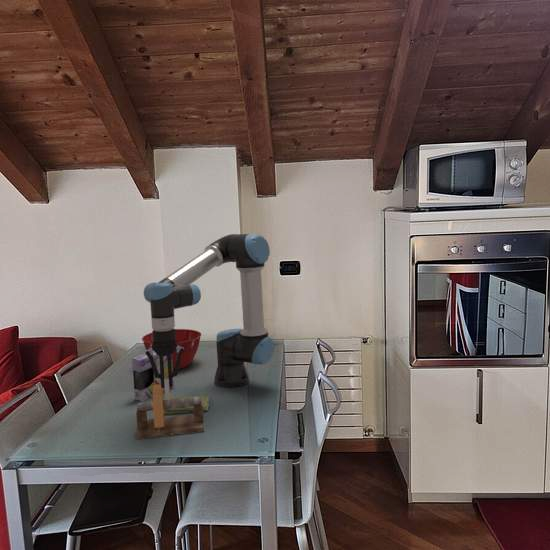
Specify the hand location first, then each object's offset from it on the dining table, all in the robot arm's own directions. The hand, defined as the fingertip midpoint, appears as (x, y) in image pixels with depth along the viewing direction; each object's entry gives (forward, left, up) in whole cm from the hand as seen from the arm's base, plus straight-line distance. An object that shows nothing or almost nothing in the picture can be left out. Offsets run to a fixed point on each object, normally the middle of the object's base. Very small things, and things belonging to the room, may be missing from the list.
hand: (167, 396), depth 166 cm
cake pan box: (+6, -36, -12) cm, 38 cm away
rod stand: (-1, 0, -11) cm, 11 cm away
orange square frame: (+3, 0, -8) cm, 9 cm away
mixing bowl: (-2, -74, -12) cm, 75 cm away
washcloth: (-6, -18, -12) cm, 22 cm away
